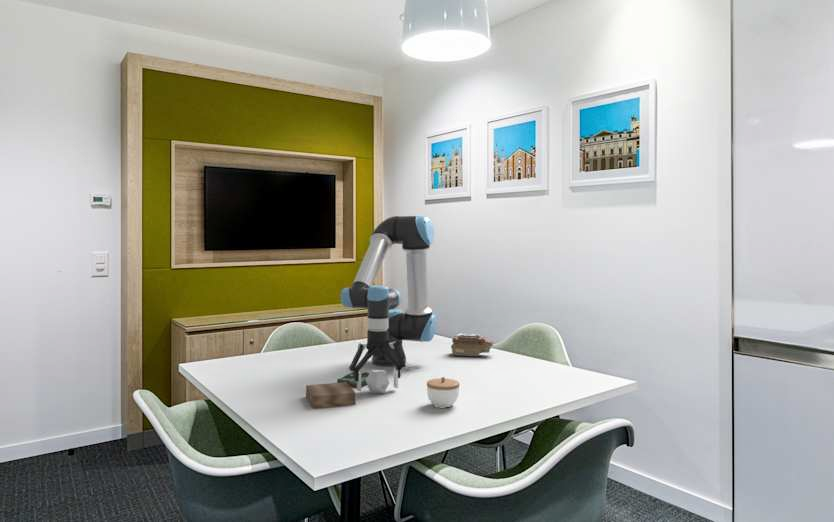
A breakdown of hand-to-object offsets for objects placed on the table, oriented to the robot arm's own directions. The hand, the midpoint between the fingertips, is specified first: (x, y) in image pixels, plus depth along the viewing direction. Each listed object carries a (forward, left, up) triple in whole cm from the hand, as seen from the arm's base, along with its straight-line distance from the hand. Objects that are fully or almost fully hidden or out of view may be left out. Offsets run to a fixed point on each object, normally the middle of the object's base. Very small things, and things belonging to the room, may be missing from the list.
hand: (377, 388), depth 200 cm
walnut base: (+18, +5, -1) cm, 19 cm away
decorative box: (-61, -48, -2) cm, 78 cm away
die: (0, 0, -2) cm, 2 cm away
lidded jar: (-16, +22, -2) cm, 27 cm away
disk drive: (+3, -16, -2) cm, 17 cm away
